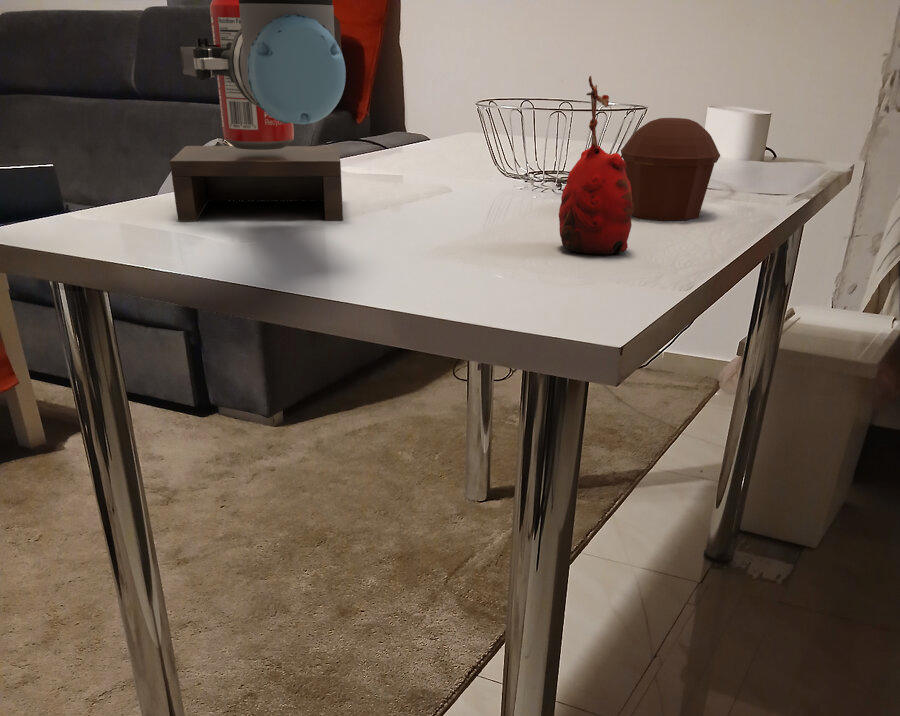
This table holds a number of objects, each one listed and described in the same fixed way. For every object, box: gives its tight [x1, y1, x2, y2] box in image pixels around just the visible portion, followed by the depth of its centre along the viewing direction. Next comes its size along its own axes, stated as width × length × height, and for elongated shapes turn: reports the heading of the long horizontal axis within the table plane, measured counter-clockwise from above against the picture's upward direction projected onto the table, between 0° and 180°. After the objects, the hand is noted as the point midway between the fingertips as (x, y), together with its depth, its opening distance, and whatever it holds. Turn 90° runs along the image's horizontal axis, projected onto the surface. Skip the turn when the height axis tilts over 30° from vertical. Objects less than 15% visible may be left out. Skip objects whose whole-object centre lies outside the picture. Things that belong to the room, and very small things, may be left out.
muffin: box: [620, 117, 721, 221], centre depth 105 cm, size 12×11×10 cm
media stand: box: [169, 145, 344, 222], centre depth 104 cm, size 18×14×6 cm
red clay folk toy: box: [558, 75, 634, 256], centre depth 85 cm, size 8×7×15 cm
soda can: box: [209, 0, 295, 150], centre depth 98 cm, size 8×8×15 cm
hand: (245, 58), depth 101 cm, fingers closed on soda can, 7 cm apart
